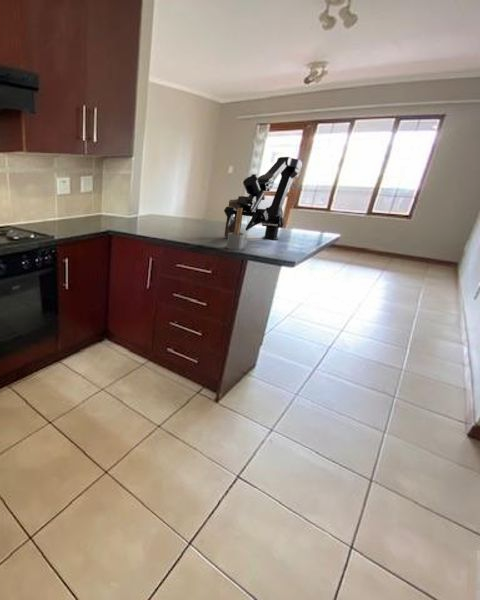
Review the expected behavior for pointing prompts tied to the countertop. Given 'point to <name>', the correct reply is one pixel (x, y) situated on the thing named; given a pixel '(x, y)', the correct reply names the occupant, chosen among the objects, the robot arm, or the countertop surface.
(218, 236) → the countertop surface
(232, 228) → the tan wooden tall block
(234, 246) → the grey cube
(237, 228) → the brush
